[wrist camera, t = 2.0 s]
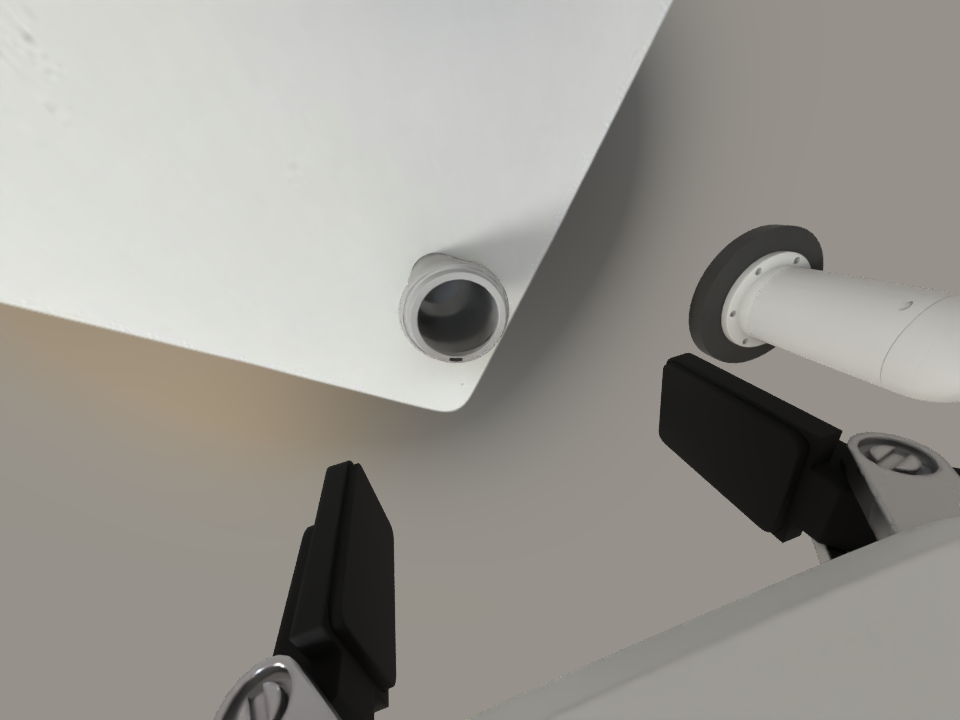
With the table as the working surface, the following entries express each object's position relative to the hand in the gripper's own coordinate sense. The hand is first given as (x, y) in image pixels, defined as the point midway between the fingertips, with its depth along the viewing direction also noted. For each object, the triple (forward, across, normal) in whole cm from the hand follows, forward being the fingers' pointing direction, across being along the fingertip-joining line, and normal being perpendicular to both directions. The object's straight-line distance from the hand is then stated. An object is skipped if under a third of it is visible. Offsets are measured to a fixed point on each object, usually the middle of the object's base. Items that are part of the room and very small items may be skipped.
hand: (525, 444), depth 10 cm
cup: (+24, 0, 0) cm, 24 cm away
